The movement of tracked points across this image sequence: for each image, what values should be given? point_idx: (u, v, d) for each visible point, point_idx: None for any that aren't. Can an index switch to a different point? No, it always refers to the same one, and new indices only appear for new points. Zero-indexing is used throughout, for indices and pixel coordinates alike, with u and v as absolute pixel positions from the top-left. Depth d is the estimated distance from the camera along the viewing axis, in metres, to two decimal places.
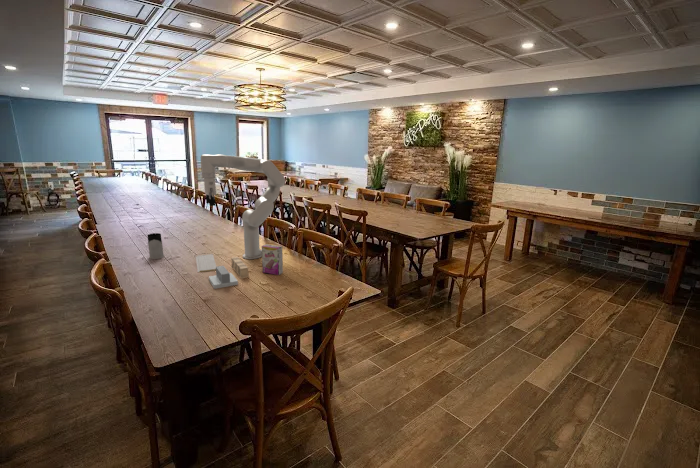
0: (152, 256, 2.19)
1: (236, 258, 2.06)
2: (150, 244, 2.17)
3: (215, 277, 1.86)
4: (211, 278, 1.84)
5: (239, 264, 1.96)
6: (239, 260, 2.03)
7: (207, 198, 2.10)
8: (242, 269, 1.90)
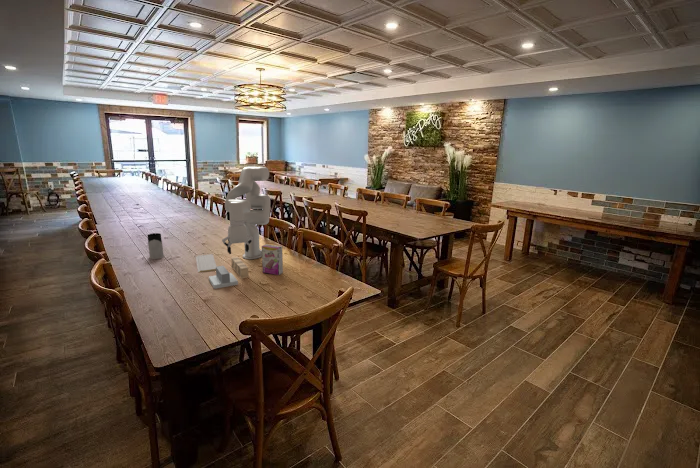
0: (152, 256, 2.19)
1: (236, 258, 2.06)
2: (150, 244, 2.17)
3: (215, 277, 1.86)
4: (211, 278, 1.84)
5: (239, 264, 1.96)
6: (239, 260, 2.03)
7: None
8: (242, 269, 1.90)
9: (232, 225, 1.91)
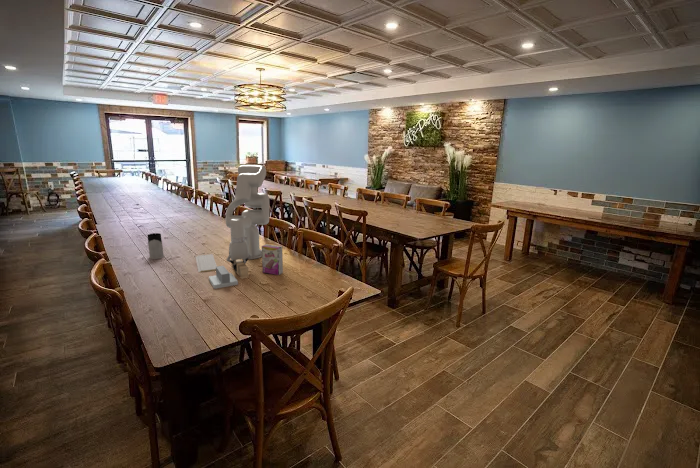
0: (152, 256, 2.19)
1: None
2: (150, 244, 2.17)
3: (215, 277, 1.86)
4: (211, 278, 1.84)
5: (239, 264, 1.96)
6: (239, 260, 2.03)
7: None
8: (242, 269, 1.90)
9: (233, 242, 1.93)
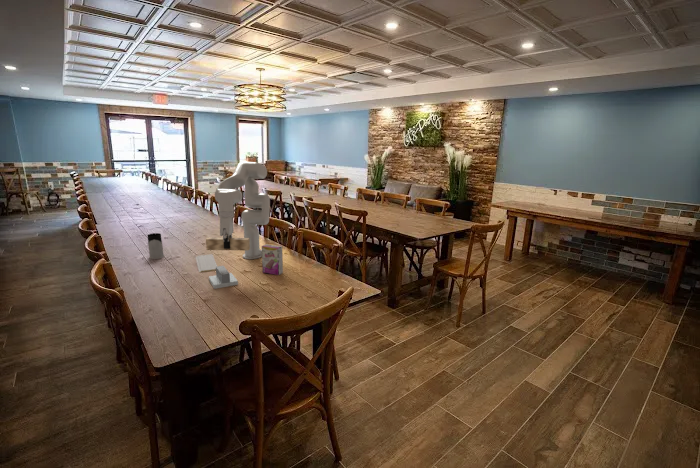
0: (152, 256, 2.19)
1: (214, 238, 1.86)
2: (150, 244, 2.17)
3: (215, 277, 1.86)
4: (211, 278, 1.84)
5: (234, 239, 1.85)
6: (221, 238, 1.87)
7: None
8: (248, 240, 1.86)
9: (228, 216, 1.80)
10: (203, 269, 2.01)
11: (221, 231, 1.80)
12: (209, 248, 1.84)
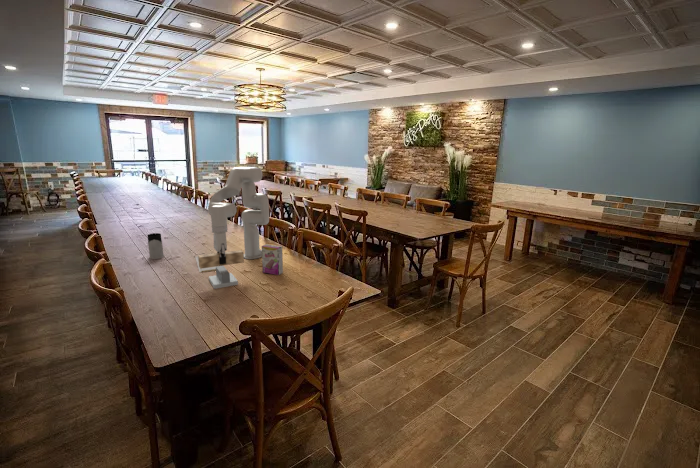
0: (152, 256, 2.19)
1: (206, 255, 1.77)
2: (150, 244, 2.17)
3: (215, 277, 1.86)
4: (211, 278, 1.84)
5: (228, 253, 1.82)
6: (213, 254, 1.80)
7: None
8: None
9: (225, 231, 1.77)
10: (203, 269, 2.01)
11: (219, 247, 1.75)
12: (203, 266, 1.76)
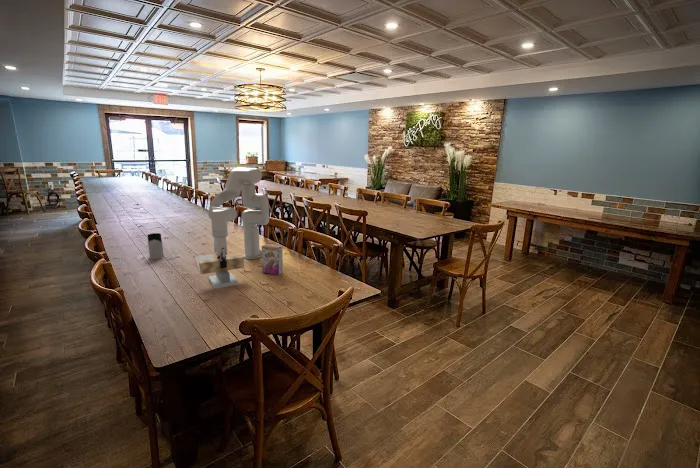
0: (152, 256, 2.19)
1: (207, 261, 1.78)
2: (150, 244, 2.17)
3: (215, 277, 1.86)
4: (211, 278, 1.84)
5: (229, 258, 1.83)
6: (214, 259, 1.81)
7: None
8: None
9: (225, 235, 1.77)
10: None
11: (219, 251, 1.75)
12: (204, 272, 1.77)
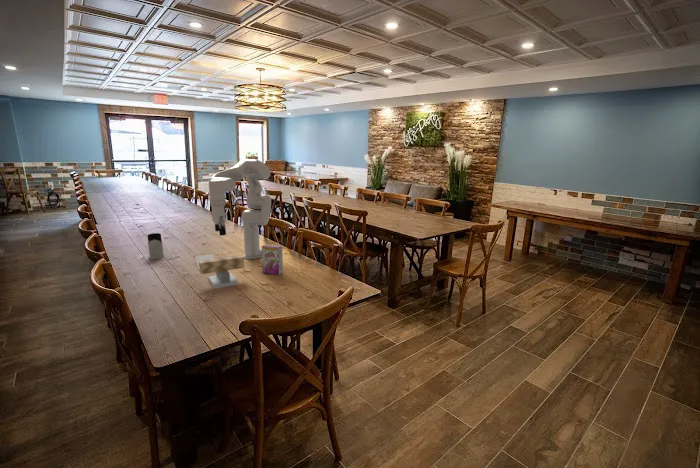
0: (152, 256, 2.19)
1: (207, 261, 1.78)
2: (150, 244, 2.17)
3: (215, 277, 1.86)
4: (211, 278, 1.84)
5: (229, 258, 1.83)
6: (214, 259, 1.81)
7: None
8: None
9: (223, 204, 1.85)
10: None
11: (218, 219, 1.83)
12: (204, 272, 1.77)
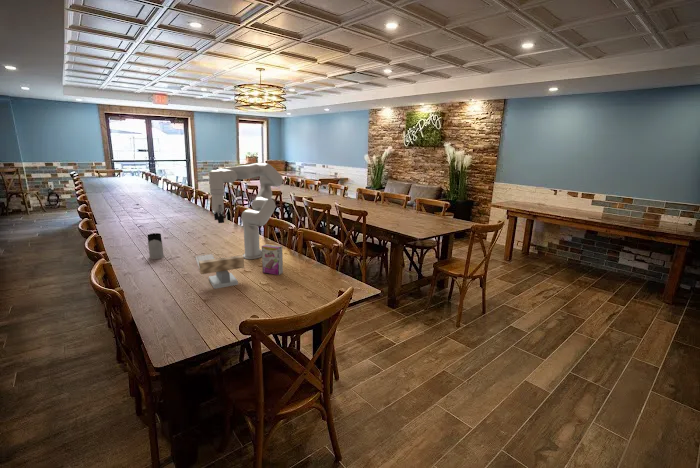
0: (152, 256, 2.19)
1: (207, 261, 1.78)
2: (150, 244, 2.17)
3: (215, 277, 1.86)
4: (211, 278, 1.84)
5: (229, 258, 1.83)
6: (214, 259, 1.81)
7: None
8: None
9: (222, 193, 1.96)
10: None
11: (217, 207, 1.94)
12: (204, 272, 1.77)
